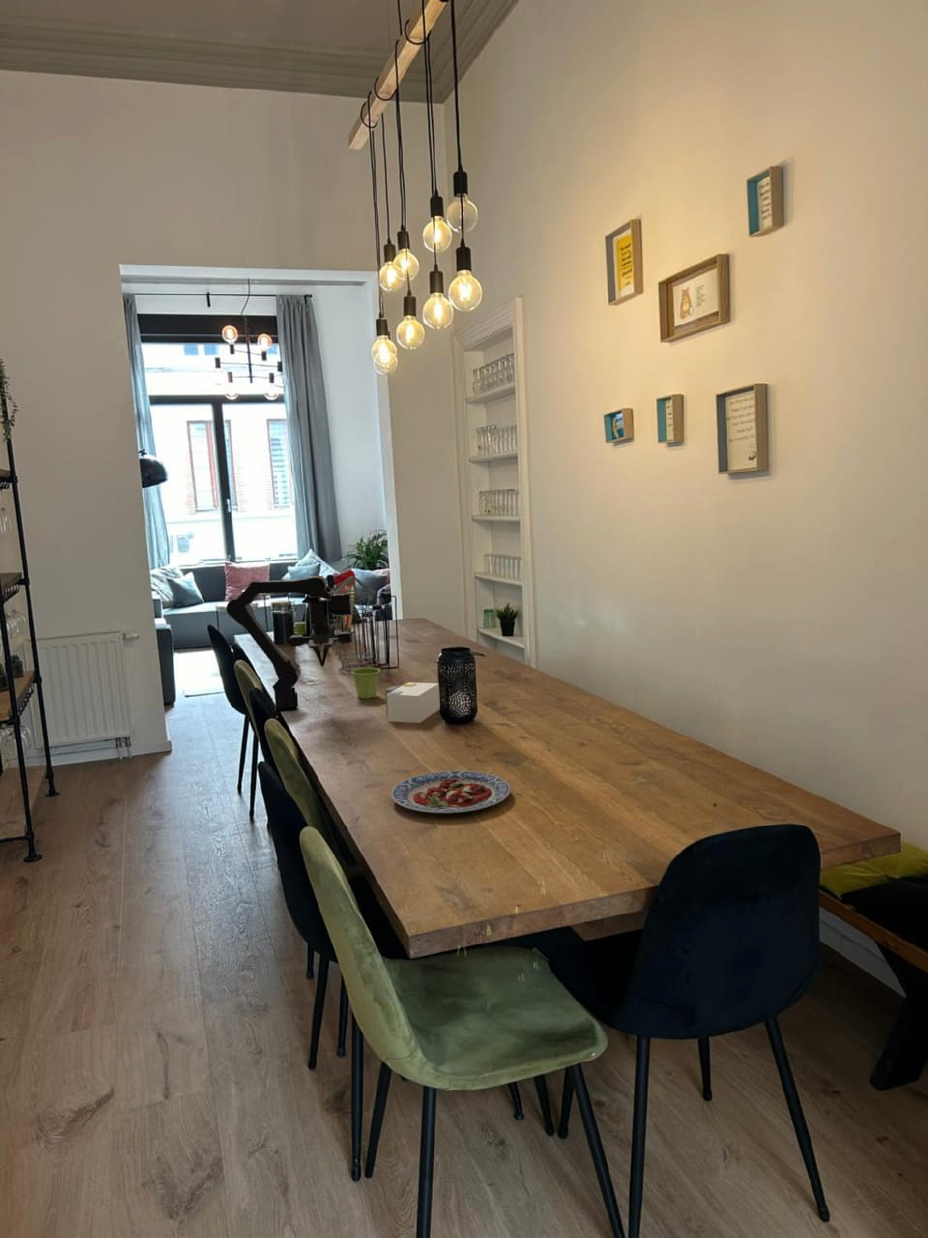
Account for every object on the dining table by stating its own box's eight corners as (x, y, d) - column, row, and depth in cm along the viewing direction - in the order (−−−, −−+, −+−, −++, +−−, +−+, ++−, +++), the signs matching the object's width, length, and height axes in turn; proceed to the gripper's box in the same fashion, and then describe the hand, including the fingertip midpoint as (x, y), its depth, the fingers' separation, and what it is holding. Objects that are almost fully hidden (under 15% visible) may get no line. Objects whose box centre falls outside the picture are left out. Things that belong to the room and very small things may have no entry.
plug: (386, 714, 265) (385, 689, 264) (393, 710, 270) (392, 685, 269) (415, 716, 262) (414, 691, 261) (422, 711, 267) (421, 687, 265)
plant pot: (384, 693, 295) (382, 667, 293) (378, 700, 285) (377, 673, 284) (356, 693, 296) (354, 668, 294) (350, 700, 286) (348, 674, 285)
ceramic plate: (445, 772, 211) (445, 760, 211) (534, 794, 195) (534, 780, 194) (366, 805, 192) (366, 791, 191) (457, 831, 175) (457, 817, 175)
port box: (387, 721, 259) (386, 693, 258) (409, 707, 274) (407, 681, 273) (420, 723, 256) (418, 694, 254) (439, 709, 270) (438, 682, 269)
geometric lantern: (331, 666, 343) (327, 576, 338) (371, 663, 347) (368, 574, 343) (338, 673, 328) (334, 579, 323) (380, 670, 332) (376, 577, 328)
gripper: (288, 622, 266) (291, 673, 268) (351, 618, 269) (354, 668, 271) (288, 617, 276) (291, 666, 279) (348, 613, 280) (351, 662, 282)
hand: (322, 666), depth 277 cm, fingers closed
